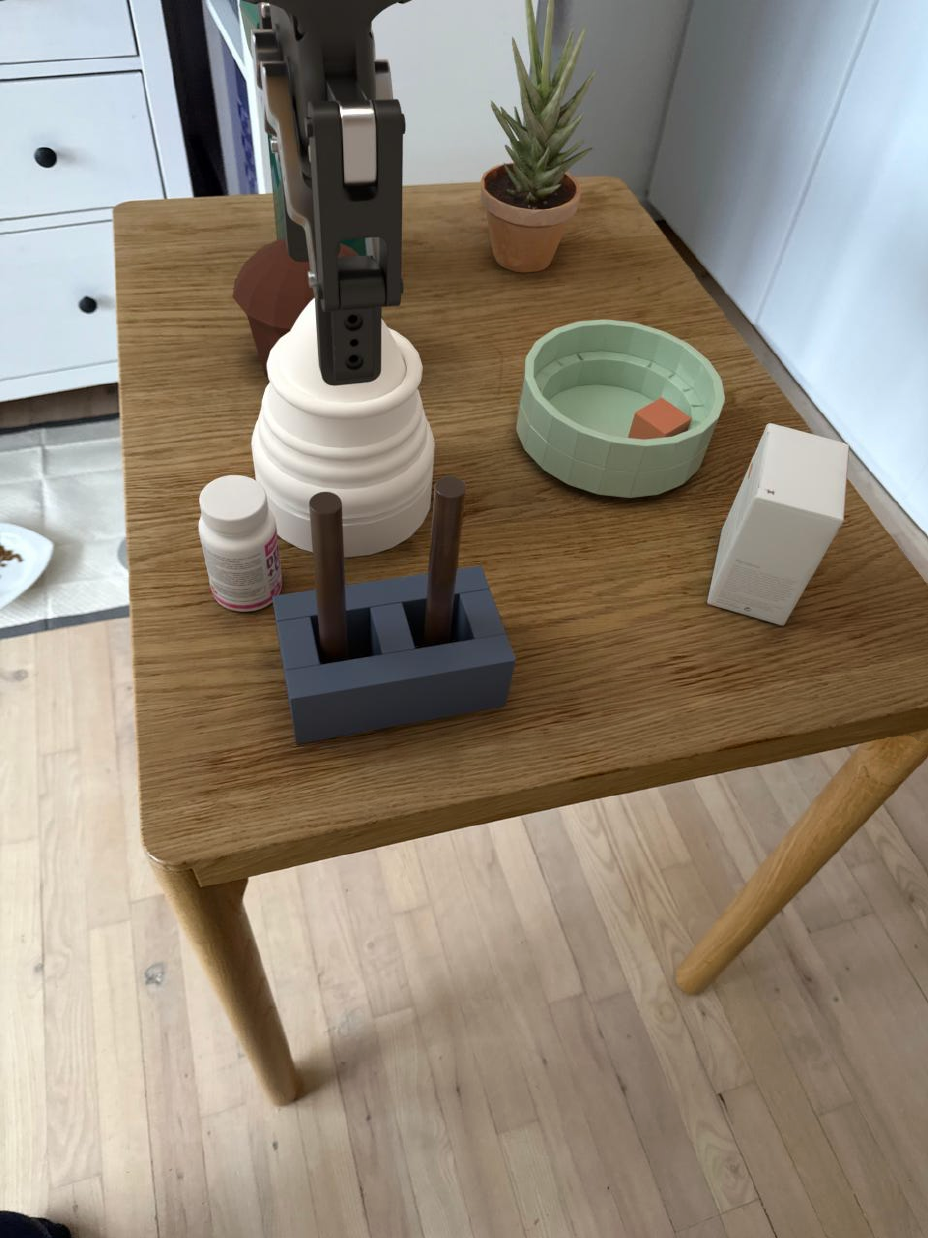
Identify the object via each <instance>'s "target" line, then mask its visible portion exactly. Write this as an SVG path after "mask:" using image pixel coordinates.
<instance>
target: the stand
mask: <svg viewBox="0 0 928 1238" xmlns="http://www.w3.org/2000/svg"><path fill="white" fill-rule="evenodd" d="M427 584H428V572H425V573H419V574H413V575H405V576H399V577H398V576H397V577H391V578H385V579H377V580H371V581H363V582H358V583H351V584H345V594H346V620H347V645H348V660H347V661H341V662H334V663H328V664H322V661H321V648H320V636H319V624H318V611H317V599H316V589H311V590H303V591H297V592H290V593H282V594H279V595H275V596H273V597H272V598H273V602H272V606H273V612H274V619H275V625H276V633H277V634H276V635H277V641H278V647H279V653H280V659H281V664H282V670H283V677H284V683H285V688H286V693H287V694H286V695H287V699H288V706H289V713H290V718H291V723H292V729H293V736H294V742H295V744H296V745H301V744H306V743H307V744H308V743H311V742H317V741H322V740H329V739H333V738H339V737H345V736H349V735H354V734H355V735H356V734H359V733H366V732H371V731H377V730H382V729H388V728H393V727H398V726H399V727H400V726H405V725H409V724H410V725H411V724H415V723H419V722H420V723H421V722H426V721H431V720H436V719H442V718H447V717H453V716H459V715H464V714H469V713H474V712H480V711H485V710H491V709H496V708H501V707H506V706H507V703H508V698H509V694H510V689H511V684H512V680H513V676H514V675H513V674H514V670H515V667H516V662H517V658H516V656H515V653H514V651H513V648H512V645H511V643H510V640H509V637H508V635H507V632H506V630H505V626H504V624H503V621H502V618H501V616H500V613H499V610H498V607H497V604H496V602H495V599H494V596H493V593H492V590H491V589H490V585H489V582H488V579H487V577H486V573H485V570H484V568H483V566H482V565H473V566H467V567H461V568H460V567H459V568H457V575H456V584H455V593H454V602H453V611H452V620H451V629H450V637H449V644H443V645H437V646H431V647H425V648H423V637H424V624H425V611H426V597H427ZM353 658H354V659H353Z"/></svg>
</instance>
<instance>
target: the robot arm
mask: <svg viewBox="0 0 928 1238" xmlns="http://www.w3.org/2000/svg"><path fill="white" fill-rule="evenodd" d="M242 1H245V2H248V3H252V4H255V5H256V4H258V14H259V26H260V29H251V49H252V56H253V59H252V61H253V68H254V73H255V79H256V85H257V87H258V97H259V103H260V108H261V109H260V111H261V116H262V122H263V127H264V128H263V129H264V132H265V133H266V134H269V135H271V136H273V138H271V139H270V143H271V151H272V153H275V157H276V161H277V163H281V166H280V174H281V186H282V198H283V211H284V223H285V235H286V245H287V249H288V253H289V255H290V257H291V258H292V259H293V260H294V261H297V262H309V263H310V271H308V282H309V287H313V291H314V296H315V312H316V329H317V346H318V363H319V369H320V372H321V376H322V379H323V381H324V382H325V383H326V384H328V385H332V386H337V385H347V384H358V383H368V382H372V381H374V380H376V379H377V378H378V377H379V376H380V373H381V324H382V320H383V318H382V314H383V312H382V308H391V307H400V306H401V303H402V295H403V294H404V292H405V291H404V280H403V275H402V272H403V271H402V269H403V268H402V265H403V262H402V261H403V254H402V253H403V183H404V181H403V177H404V176H403V173H404V170H403V169H404V160H403V159H404V135H405V134H406V130H407V129H406V127H407V123H406V116H405V114H404V113H403V112H402V105H401V102H400V101H399V99H398V98H394V91H393V82H392V81H393V79H392V71H391V66H390V62H389V60H388V59H387V58H377V57H376V53H377V52H376V41H375V40H376V39H375V35H374V31H373V28H372V27H373V26H372V25H373V21H374V20H375V18H377V16H378V15H379V14H381V13H382V12H384V11H385V10H386V9H388V8H390V7H391V6H393V5H395V4H401V5H404V4H407V3H409V2H411V1H412V0H242ZM354 238H365V243H366V252H367V256H354V257H339V258H337V256H338V255H339V253H340V250H341V245H340V242H341V241H342V240H345V239H354Z"/></svg>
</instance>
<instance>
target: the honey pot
mask: <svg viewBox="0 0 928 1238" xmlns="http://www.w3.org/2000/svg"><path fill="white" fill-rule="evenodd" d="M423 370H424V369H423V363H422V360H421V357H420V353H419V352H418V350H417V349H416V348H415V346H414V345H413V344H412V342H411V341H410V340H409V339H407V338H406V337H405V336H403V335H402V334H400V333H399V332H398V331H397V330H394V329H392V328H390V327H388V326H387V324H386V323H385V321H384V320H383V319H382V324H381V373H380V376H379V377H378V378H377V379H376V380H374V381H372V382H368V383H358V384H347V385H337V386H332V385H328V384H326V383H325V382H324V381H323V379H322V376H321V372H320V369H319V363H318V346H317V329H316V312H315V298H314V299H313V300H312V301H311V302H310V303H309V304H308V305H307V306H306V308H305V309H304V310H303V311H302V313H301V314H300V316H299V317H298V319H297V320H296V322H295V324H294V325H293V327H292V329H291V331H290V332H288V333H287V334H286V335H284V336H283V337H281V338H280V339H279V341H278V342H277V343H276V344H275V346H274V347H273V348H272V350H271V351H270V354H269V358H268V361H267V372H268V376H267V378H268V381H269V383H268V384H267V386H266V387H265V388H264V393H263V395H262V399H261V407H260V411H259V413H258V414H259V415H258V419H257V420H256V422H255V426H254V429H253V432H252V436H251V443H250V445H251V453H252V461H253V467H254V468H253V469H254V476H255V480H256V481H257V482H259V483H260V484H261V485H262V486H263V488H264V490H265V492H266V496H267V502H268V508H269V509H270V510H271V512H272V513H273V515H274V518H275V522H276V528H277V536H278V537H280V538H281V539H282V540H283V541H285V542H287V543H289V544H290V545H293V546H294V547H296V548H298V549H300V550H303V551H307V552H309V553H312V554H313V549H312V536H311V524H310V511H309V501H310V499H311V497H312V496H314V495H315V494H317V493H320V492H331V493H334V494H336V495H337V496H339V498H340V499H341V501H342V519H343V544H344V558H346V559H347V558H355V557H363V556H364V557H365V556H371V555H375V554H377V553H381V552H384V551H386V550H387V551H388V550H390V549H393V548H394V547H396V546H397V545H399V544H402V542H404V541H406V540H408V539H410V538H411V536H413V535H414V534H415V533H416V531H417V530H419V528H420V527H422V525H423V524H424V522H425V520H426V518H427V516H428V513H429V512H430V509H431V502H432V490H433V475H434V463H435V461H434V459H435V448H436V447H435V445H436V443H435V438H434V435H433V430H432V428H431V424H430V422H429V420H428V419H427V417H426V413H425V410H424V406H423V400H422V397H421V394H420V390H419V386H420V384H421V382H422V378H423Z"/></svg>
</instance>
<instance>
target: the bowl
mask: <svg viewBox="0 0 928 1238" xmlns="http://www.w3.org/2000/svg"><path fill="white" fill-rule="evenodd" d="M520 385H521V386H520V390H519V398H518V402H517V410H516V423H515V424H516V428H515V429H516V433H517V435H518V437H519V439H520V442H521V445H522V447H523V449H524V451H525V452H526V453H527V454H528V455H529V456H530V458H531V459H533V461H535V463H536V464H537V465H538V466H539V467H540V468H541V469H542V470H543V471H545V472H547V473H548V474H549V475H552V476H553V477H554V478H556V479H558V480H560V481H561V482H563V483H564V484H566V485H568V486H571V487H574V488H577V489H580V490H583V491H586V492H589V493H592V494H595V495H599V496H606V497H608V496H609V497H618V498H627V499H633V498H641V497H642V498H643V497H649V496H650V497H651V496H658V495H661V494H663V493H666V492H668V491H670V490H673V489H675V488H678V487H680V486H683V485H684V484H686V482H688V480H689V479H691V478H692V476H694V475H695V474H696V473H697V472H698V471H699V470H700V468H701V465H702V463H703V461H704V458H705V455H706V453H707V450H708V447H709V445H710V442H711V439H712V437H713V435H714V432H715V429H716V427H717V424H718V421H719V418H720V416H721V413H722V410H723V407H724V404H725V402H726V397H725V390H724V384H723V380H722V377H721V376H720V374H719V373H718V372H717V370H716V368H715V366H713V364H712V362H711V361H710V360H709V359H708V358H707V357H705V355H703V353H701V352H699V351H698V350H697V349H696V348H695V347H693V346H692V345H691V344H689V343H688V342H687V341H685V340H682V339H680V338H678V337H677V336H675V335H672V334H671V333H668V332H666V331H664V330H662V329H659V328H655V327H652V326H648V325H645V324H641V323H638V322H634V321H624V320H617V319H615V320H614V319H605V318H604V319H591V320H578V321H575V322H571V323H568V324H565V325H561V326H559V327H555V328H553V329H552V330H549V332H547V333H546V334H544V335H543V336H541V337H539V339H537V340H536V341H535V342H534V344H533V345H532V347H531V348H530V350H529V352H527V355H526V357H525V360H524V366H523V372H522V378H521V384H520ZM661 397H662V398H663V399H665V400H666V401H668V402H669V403H671V404H672V405H673V406H675V407H676V408H678V409H679V410H681V411H682V412H684V413H685V414H686V415H688V416H689V417H691V418H692V420H691V423H690V426H689V429H688V431H686V432H683V433H681V434H678V435H676V436H673V437H665V438H655V439H646V440H643V439H634V438H628V435H629V432H630V428H631V425H632V421H633V418H634V414H635V412H637V411H638V410H640V409H642V408H644V407H645V406H647V405H649V404H651V403H652V402H654V401H656V400H658V399H659V398H661Z"/></svg>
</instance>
